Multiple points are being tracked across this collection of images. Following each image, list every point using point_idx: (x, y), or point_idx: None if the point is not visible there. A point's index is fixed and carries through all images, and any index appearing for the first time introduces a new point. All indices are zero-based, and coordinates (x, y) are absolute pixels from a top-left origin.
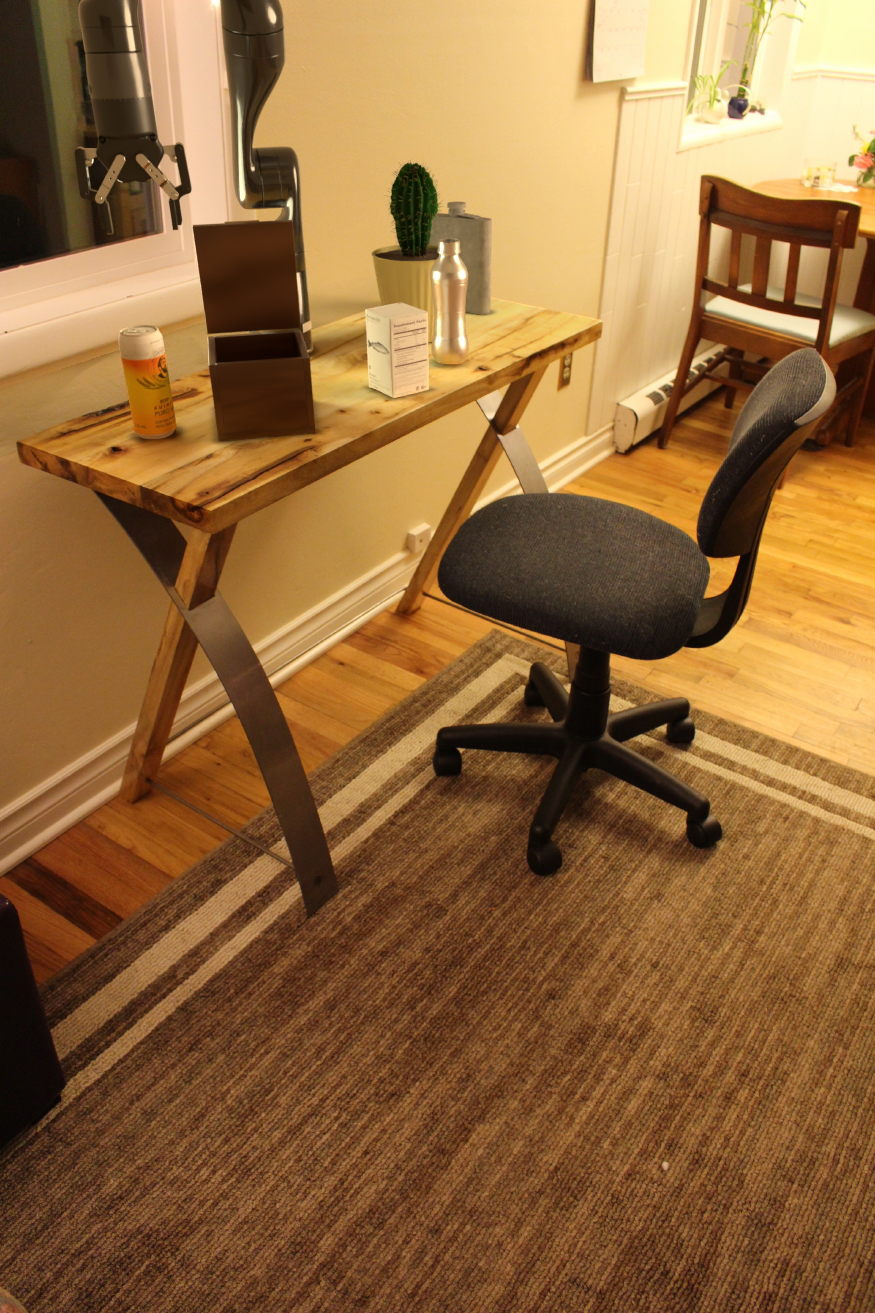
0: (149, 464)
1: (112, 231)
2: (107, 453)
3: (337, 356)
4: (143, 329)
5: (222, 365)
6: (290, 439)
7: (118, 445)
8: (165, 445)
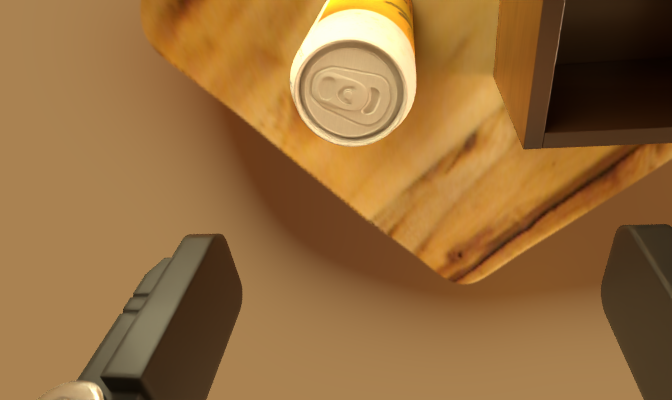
0: (374, 157)
1: (237, 292)
2: None
3: None
4: (360, 77)
5: (557, 146)
6: None
7: None
8: None
